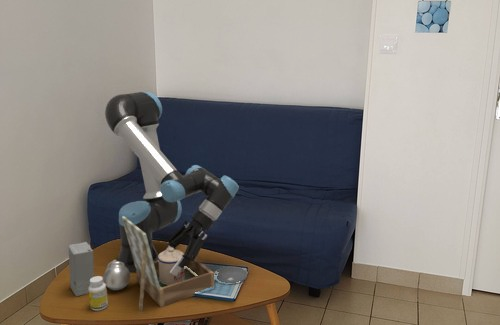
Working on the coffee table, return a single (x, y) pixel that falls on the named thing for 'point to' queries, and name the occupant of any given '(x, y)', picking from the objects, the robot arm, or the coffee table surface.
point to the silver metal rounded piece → (116, 275)
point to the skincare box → (80, 267)
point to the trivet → (231, 274)
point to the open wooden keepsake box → (150, 272)
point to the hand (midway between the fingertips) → (166, 268)
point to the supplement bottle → (98, 293)
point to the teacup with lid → (169, 266)
